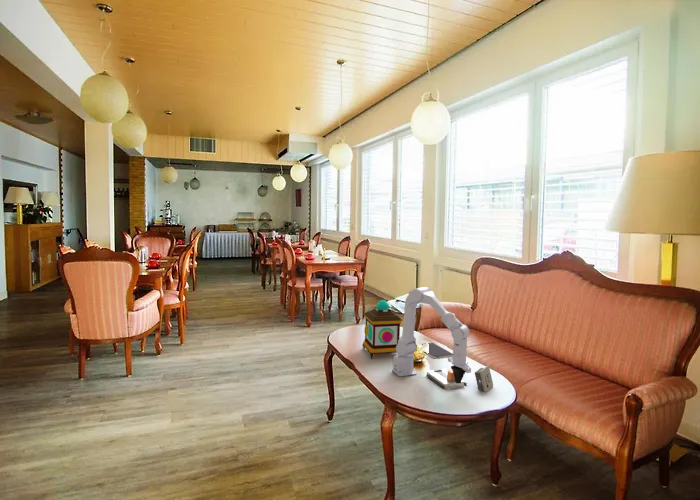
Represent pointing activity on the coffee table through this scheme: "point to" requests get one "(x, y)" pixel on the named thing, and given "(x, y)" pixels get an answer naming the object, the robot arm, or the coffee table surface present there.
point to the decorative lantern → (381, 330)
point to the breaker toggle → (450, 375)
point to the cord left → (435, 381)
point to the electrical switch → (484, 379)
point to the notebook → (438, 351)
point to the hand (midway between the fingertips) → (458, 382)
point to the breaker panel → (444, 379)
